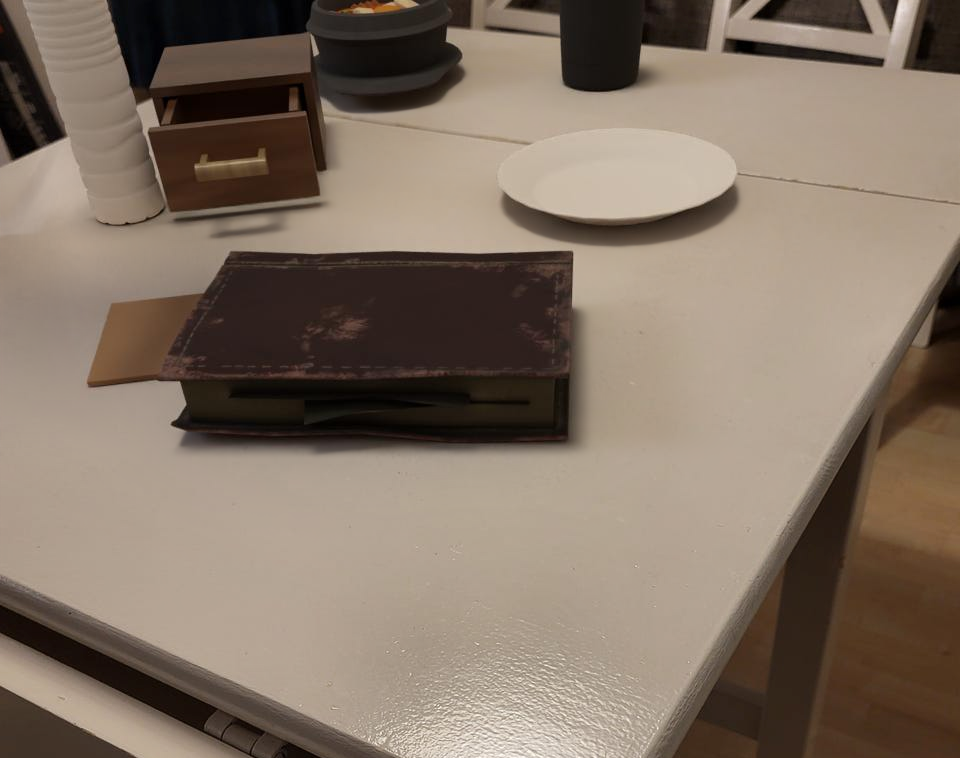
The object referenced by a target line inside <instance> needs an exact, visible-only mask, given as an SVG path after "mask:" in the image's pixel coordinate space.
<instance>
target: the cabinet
mask: <svg viewBox="0 0 960 758" xmlns="http://www.w3.org/2000/svg"><path fill="white" fill-rule="evenodd" d="M311 36H312V35H311V34H310V32H305V33H296V34H295V33H293V34H285V35H276V36H264V37H255V38H247V39H245V38H244V39H236V40H225V41H216V42H206V43H198V44H196V43H195V44H188V45H187V44H186V45H177V46H176V45H175V46H167V47H166V46H165V47H164V49H163V52H162V54H161V57H160V60H159V62H158V64H157V67H156V70H155V72H154V75H153V78H152V80H151V83H150V85H149V93H150V96H151V100H152V105H153V107H154V112H155V115H156V119H157V122H158V127H159V126H161V123H162V120H163V117H164V114H165V110H166V107H167V104H168V101H169V98H170V97H172V96H181V95H191V94H201V93H210V92H220V91H229V90H239V89H248V88H258V87H268V86H277V85H287V84H296V83H299V84H300V90H301V96H302V102H303V108H304V111H306V112H307V118H308V124H309V130H310V136H311V141H312V147H313V153H314V159H315V165H316V171H317V172H318V171H326V170H327V169H328V168H327V146H326V124H325V118H324V112H323V105H322V98H321V91H320V85H319V80H318V79H317V73H316V67H315V61H314V56H315V55H314V49H313V43H312V37H311Z"/></svg>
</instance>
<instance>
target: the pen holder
mask: <svg viewBox="0 0 960 758" xmlns="http://www.w3.org/2000/svg"><path fill="white" fill-rule="evenodd" d="M645 5H646V0H558V9H559V10H558V12H559V38H560V39H559V41H560V63H561V66H560V67H561V79H562V80H563V82H564V84H565V85H567V86H568V87H570V88H573V89H577V90H582V91H595V92H596V91H598V92H599V91H610V90H618V89H621V88H624V87H627V86H630V85H632V84H634V82H636V80H637V78H638V76H639V71H640V64H641V63H640V62H641V51H642V42H643V40H642V39H643V28H644V15H645Z"/></svg>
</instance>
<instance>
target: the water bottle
mask: <svg viewBox="0 0 960 758" xmlns="http://www.w3.org/2000/svg"><path fill="white" fill-rule="evenodd" d="M22 4H23V7H24V9H25V10H26V16H27V19H28V21H29V22H30V23H29V24H30V27H31V31H32V32H33V33H34V34H33V36H34V40H35V42H36V43H37V49H38V52H39V54H40V55H41V61H42V64H43V65H44V66H45V73H46V76H47V79H48V82H49V86H50V89H51V92H52V93H53V95H54V96H55V98H56V99H55V101H56V107H57V109H58V112H59V115H60V117H61V120H62V121H63V123H64V131H65V133H66V136H67V137H68V139H69V140H70V148H71V151H72V154H73V157H74V159H75V162H76V164H77V166H78V168H79V169H78V170H79V174H80V178H81V181H82V183H83V186H84V188H85V189H86V195H87V199H88V202H89V205H90V208H91V211H92V213H93V215H94V218H95V219H96V220H97V221H98V222H100V223H102V224H107V223H108V225H115V226H116V225H117V226H118V225H119V226H121V225H125V224H126V223H129V224H134V223H139V222H142V221H145V220H146V219H150V218H153V217H154V216H157V215H158V214H159V213H160V212H161V211H163V209H164V208H165V199H164V195H163V192H162V188H161V186H160V182H159V180H158V177H157V173H156V168H155V164H154V161H153V158H152V156H151V154H150V148H149V143H148V140H147V137H146V135H145V133H144V131H143V130H144V127H143V123H142V119H141V116H140V114H139V112H138V111H137V109H138V107H137V102H136V101H137V100H136V98H135V94H134V92H133V88H132V87H131V86H130V84H131V83H130V76H129V73H128V70H127V66H126V64H125V60H124V57H123V55H122V50H121V47H120V44H119V43H118V42H119V40H118V36H117V33H116V32H115V30H116V28H115V25H114V23H113V21H112V14H111V12H110V10H109V4H108V1H107V0H22Z"/></svg>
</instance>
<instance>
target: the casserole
mask: <svg viewBox="0 0 960 758" xmlns="http://www.w3.org/2000/svg"><path fill="white" fill-rule="evenodd" d="M453 15H454V13H453V11H452V9H451V8H450V7H449V6H448V5H447V3H446V0H314V1H313V2H312V4H311V7H310V17H309V19H308V21H307V22H306V24H305V29H306V30H307V32H308V33H310V36H312V37H313V39H314V43H315V45H316V49H317V51H318V54H315V55H314V61H315V67H316V73H317V79H318V82H321V83H322V84H323V83H324V84H325V85H326V86H327V87H328V88H329V89H331V90H332V91H333V92H334V93H337V94H340V95H343V96H355V97H357V96H360V97H361V96H365V97H367V96H368V97H369V96H386V95H387V96H388V95H395V94H403V93H409V92H413V91H418V90H423V89H426V88H430V87H432V86H434V85H435V84H437V83H438V82H439V81H440V79H441V78H442V77H443V76H444V75H445V74H446V73H447V72H448V71H450V70H451V69H453V68H454V67H456V66H457V65H458V64H459V63H460V62H461V61H462V59H463V52H462V51H461V49H460V48H459V47H458V46H456V45H455V44H453V43H451V42H448V41H447V36H448V35H447V34H448V25H449V23H450V21H451V20H452V18H453Z"/></svg>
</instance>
